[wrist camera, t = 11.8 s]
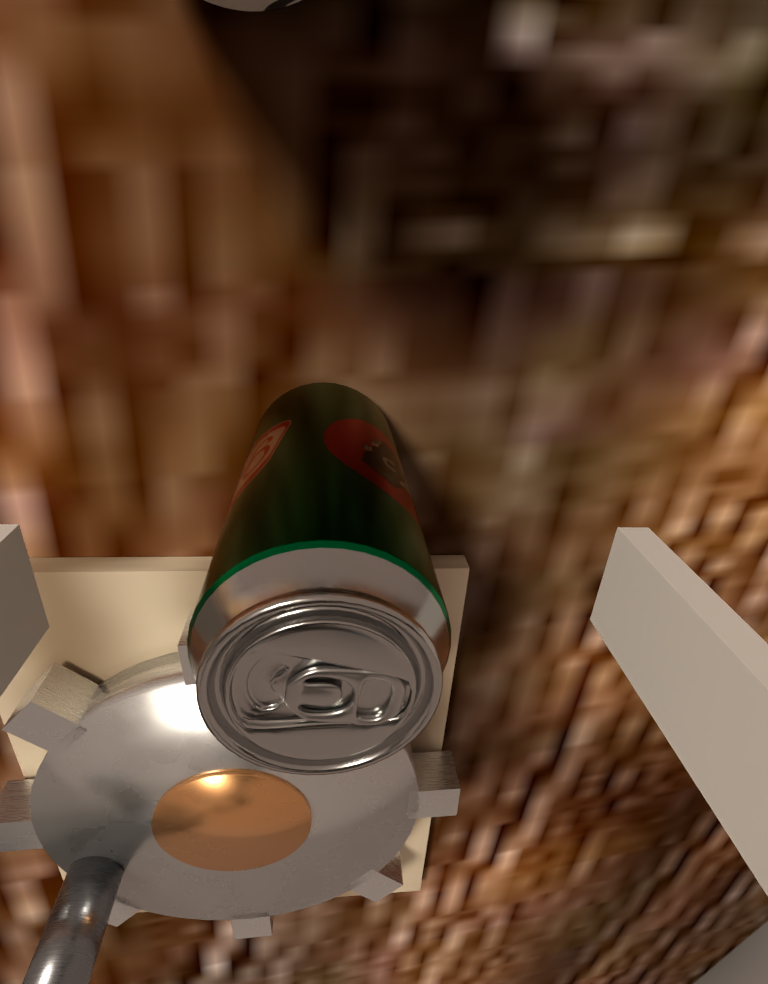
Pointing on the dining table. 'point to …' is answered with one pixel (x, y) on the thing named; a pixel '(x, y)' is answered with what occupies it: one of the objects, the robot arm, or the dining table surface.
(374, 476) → the soda can
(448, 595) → the base board
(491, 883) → the dining table surface
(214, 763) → the sprocket
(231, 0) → the cup
